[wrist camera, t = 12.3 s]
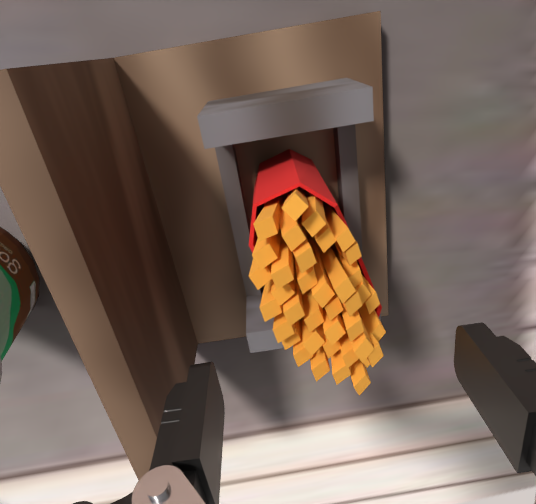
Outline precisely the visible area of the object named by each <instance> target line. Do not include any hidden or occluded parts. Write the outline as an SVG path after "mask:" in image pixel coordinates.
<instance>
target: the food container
mask: <svg viewBox="0 0 536 504" xmlns="http://www.w3.org/2000/svg"><path fill="white" fill-rule="evenodd" d="M38 296H39V276H38V273H37V270H36V267H35V264H34V261H33V259H32V258H31V256H30V255H29V254H28V252H27V251H26V250H25V248H24V247H23V246H22V244H21V243H20V242H19V241H18V240H17V239H15V238H14V237H13V236H12V235H11V234H10V233H8V232H7V231H6V230H4V229H3V228H1V227H0V382H1V376H2V363H1V361H2V360H3V358H4V356H5V355H6V353H7V351H8V350H9V348H10V346H11V345H12V343H13V341H14V340H15V338H16V336H17V334H18V333H19V331H20V329H21V328H22V326H23V324H24V323H25V321H26V319H27V318H28V316H29V314H30V313H31V311H32V309H33V308H34V306H35V303H36V301H37V299H38Z"/></svg>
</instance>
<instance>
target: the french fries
mask: <svg viewBox="0 0 536 504" xmlns="http://www.w3.org/2000/svg"><path fill="white" fill-rule="evenodd" d="M249 247H250V249H251V251H252V256H253V261H252V265H251V268H250V272H249V278H250V279H251V281H252V282H253V284H254V285H255V286H256V288H257V289H258V290H259V289H260V288H261V287H262V286H264V285H265V286H264V290H263V295H262V299H261V303H260V307H259V308H260V311H261V313H262V316H263V319H264V321H265V322H266V321H268V320H269V319H271V318H273V317H274V323H273V332H274V335H275V337H276V340H277V342H278V343H280V342H282V344H283V346H284V348H285V350H286V349H288V348H290V347H291V346H293V356H294V358H295V361H296V363H297V365H298V367H299V366H301V365H302V364H303V363H305V362H306V361H308V360H309V359H310V361H311V369H312V372H313V375H314V377H315V379H316V381H318V380H319V379H320V378H321V377H323V376H324V375H325V374H326V373H327V372H329V371H330V368H329V363H328V359H329V358H330V357H331V361H332V374H333V377H334V379H335V382H336V384H339V383H340V382H341V381H343V380H344V379H345V378H347V377H348V376H349V375H351V379H352V382H353V386H354V388H355V390H356V391H357V393H358V394H359V395H360V394H361V393H362V392H363V391H364V390H365V389H366V388H367V387H368V385H369V384H370V383H371V382H370V379H369V376H368V373H367V370H366V367H367V368H368V366H369V365H371V366H372V367H373V366H374V365H375V364H376V363H377V362H378V361H379V360H380V359H381V358H382V357H383V353H382V350H381V348H380V345H379V343H378V342H379V341H380V339H381V338H382V337H383V336H384V334H385V333H386V331H385V329H384V327H383V325H382V323H381V321H380V319H379V316H380V312H381V309H382V306H381V304H380V301H379V299H378V296H377V293H376V291H375V289H374V287H373V284H372V282H371V279H370V277H369V275H368V272H367V270H366V267H365V265H364V263H363V260H362V258H361V252H360V249H359V246H358V243H357V242H356V240H355V239H354V237H353V236H352V234H351V232H350V230H349V228H348V225H347V223H346V221H345V219H344V217H343V215H342V213H341V211H340V208H339V206H338V204H337V203H336V201H335V199H334V197H333V196H332V194H331V192H330V191H329V189H328V187H327V185H326V184H325V182H324V180H323V178H322V177H321V175H320V173H319V171H318V170H317V168H316V166H315V165H314V163H313V161H312V159H309V158H307V157H305V156H303V155H301V154H299V153H297V152H295V151H293V150H290V149H288V150H286V151H284V152H282V153H280V154H278V155H276V156H274V157H272V158H270V159H268V160H266V161H264V162H262V163H260V164H259V168H258V173H257V177H256V182H255V186H254V195H253V206H252V216H251V226H250V237H249ZM365 366H366V367H365Z"/></svg>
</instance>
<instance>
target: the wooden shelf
mask: <svg viewBox="0 0 536 504" xmlns="http://www.w3.org/2000/svg"><path fill="white" fill-rule="evenodd" d="M288 149H290V150H293V151H295V152H297V153H299V154H301V155H303V156H305V157H307V158H309V159H312V161H313V163H314V165H315V166H316V168H317V170H318V171H319V173H320V175H321V177H322V178H323V180H324V182H325V184H326V185H327V187H328V189H329V191H330V192H331V194H332V196H333V197H334V199H335V201H336V203H337V204H338V206H339V208H340V211H341V213H342V215H343V217H344V219H345V221H346V223H347V225H348V228H349V230H350V232H351V234H352V236H353V237H354V239H355V240H356V242H357V243H358V246H359V249H360V252H361V258H362V260H363V263H364V265H365V267H366V270H367V272H368V275H369V277H370V279H371V282H372V284H373V287H374V289H375V291H376V293H377V296H378V299H379V301H380V304H381V306H382V309H381V312H380V316H379V319H380V321H381V316H388V277H387V240H386V202H385V165H384V127H383V89H382V52H381V14H380V11H378V12H372V13H366V14H360V15H355V16H349V17H343V18H338V19H332V20H326V21H321V22H315V23H309V24H304V25H298V26H292V27H286V28H281V29H275V30H269V31H264V32H258V33H252V34H247V35H241V36H235V37H230V38H224V39H218V40H212V41H207V42H201V43H195V44H190V45H184V46H178V47H173V48H167V49H161V50H156V51H150V52H144V53H138V54H133V55H127V56H121V57H116V58H108V59H98V60H88V61H78V62H69V63H59V64H49V65H39V66H30V67H20V68H10V69H3V70H0V186H1V189H2V191H3V193H4V195H5V197H6V199H7V201H8V203H9V206H10V208H11V210H12V212H13V214H14V216H15V218H16V220H17V223H18V225H19V227H20V229H21V231H22V233H23V235H24V237H25V240H26V242H27V244H28V246H29V248H30V250H31V252H32V254H33V257H34V259H35V261H36V263H37V265H38V267H39V269H40V272H41V274H42V276H43V278H44V280H45V282H46V284H47V286H48V289H49V291H50V293H51V295H52V297H53V299H54V301H55V303H56V306H57V308H58V310H59V312H60V314H61V316H62V318H63V320H64V323H65V325H66V327H67V329H68V331H69V333H70V335H71V337H72V340H73V342H74V344H75V346H76V348H77V350H78V352H79V354H80V357H81V359H82V361H83V363H84V365H85V367H86V369H87V372H88V374H89V376H90V378H91V380H92V382H93V384H94V386H95V389H96V391H97V393H98V395H99V397H100V399H101V401H102V403H103V406H104V408H105V410H106V412H107V414H108V416H109V418H110V420H111V423H112V425H113V427H114V429H115V431H116V433H117V435H118V437H119V440H120V442H121V444H122V446H123V448H124V450H125V452H126V454H127V457H128V459H129V461H130V463H131V465H132V467H133V469H134V472H135V474H136V476H137V478H138V480H140V479H141V478H142V477H143V476H144V475H145V474H146V473H147V472H149V469H150V466H151V462H152V457H153V453H154V449H155V444H156V440H157V436H158V432H159V427H160V425H161V419H162V414H163V413H164V411H163V410H164V406H165V402H166V397H167V395H168V394H169V392H170V391H171V390H172V388H173V387H174V385H175V384H176V383H182V382H187V376H188V371H189V367H190V365H194V363H195V357H196V351H197V346H198V344H199V343H206V342H213V341H220V340H226V339H233V338H240V337H246V336H247V340H248V345H249V349H250V353H254V352H261V351H268V350H274V349H281V348H284V346H283V344H282V342H280V343H278V342H277V340H276V337H275V335H274V332H273V323H274V317H273V318H271V319H269V320H268V321H266V322H265V321H264V319H263V316H262V313H261V311H260V308H259V307H260V303H261V299H262V295H263V290H264V286H265V285H264V286H262V287H261V288H260V289H259V290H258V289H257V288H256V286H255V285H254V284H253V282H252V281H251V279H250V278H249V272H250V268H251V265H252V261H253V256H252V251H251V249H250V247H249V237H250V226H251V216H252V206H253V195H254V186H255V182H256V177H257V173H258V168H259V164H260V163H262V162H264V161H266V160H268V159H270V158H272V157H274V156H276V155H278V154H280V153H282V152H284V151H286V150H288ZM291 347H293V346H291Z"/></svg>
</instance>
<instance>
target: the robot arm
mask: <svg viewBox="0 0 536 504" xmlns="http://www.w3.org/2000/svg"><path fill="white" fill-rule="evenodd" d="M454 367H455V372H456V375H457V378H458V380H459V382H460V383H461V385H462V387H463V388H464V390H465V391H466V393H467V394H468V396H469V398H470V399H471V401H472V402H473V404H474V406H475V407H476V409H477V410H478V412H479V413H480V415H481V417H482V418H483V420H484V421H485V423H486V424H487V426H488V428H489V429H490V431H491V432H492V434H493V436H494V437H495V439H496V440H497V442H498V443H499V445H500V447H501V448H502V450H503V451H504V453H505V454H506V456H507V458H508V459H509V461H510V462H511V464H512V466H513V467H514V469H515V470H516V472H517V473H521V472H529V471H533V473H534V474H535V476H536V363H535V361H534V360H531V357H530V356H529V355H528V354H527V353H526V352H525V350H524V349H523V348H522V347H521V346H520V345H518V344H517V343H515V342H513V341H512V340H510V339H508V338H506V337H505V336H499V337H496V336H495V335H494V334H493V333H492V331H491V330H490V329H489V328H488V327H487V326H486V325H485V324H484V323H475V324H468V325H461V326H458V327H457V329H456V339H455V354H454ZM163 411H164V413H163V414H162V419H161V425H160V427H159V432H158V436H157V440H156V444H155V449H154V453H153V457H152V462H151V466H150V469H149V472H147V473H146V474H145V475H144V476H143V477H142V478H141V479H140V480H139V481H138V483H137V484H136V486H135V488H134V491H133V492H132V493H130V494H129V495H127V496H126V497H124V498H122V499H120V500H117V501H115V502H113V503H111V504H219V493H220V477H221V461H222V446H223V430H224V400H223V395H222V391H221V388H220V384H219V380H218V377H217V373H216V369H215V366H214V363H213V362H208V363H201V364H194V365H190V367H189V371H188V376H187V382H182V383H176V384H175V385H174V387H173V388H172V390H171V391H170V392H169V394H168V395H167V397H166V402H165V406H164V410H163ZM73 504H93V503H91V502H87V501H81V502H76V503H73ZM534 504H536V496H535V503H534Z"/></svg>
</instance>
